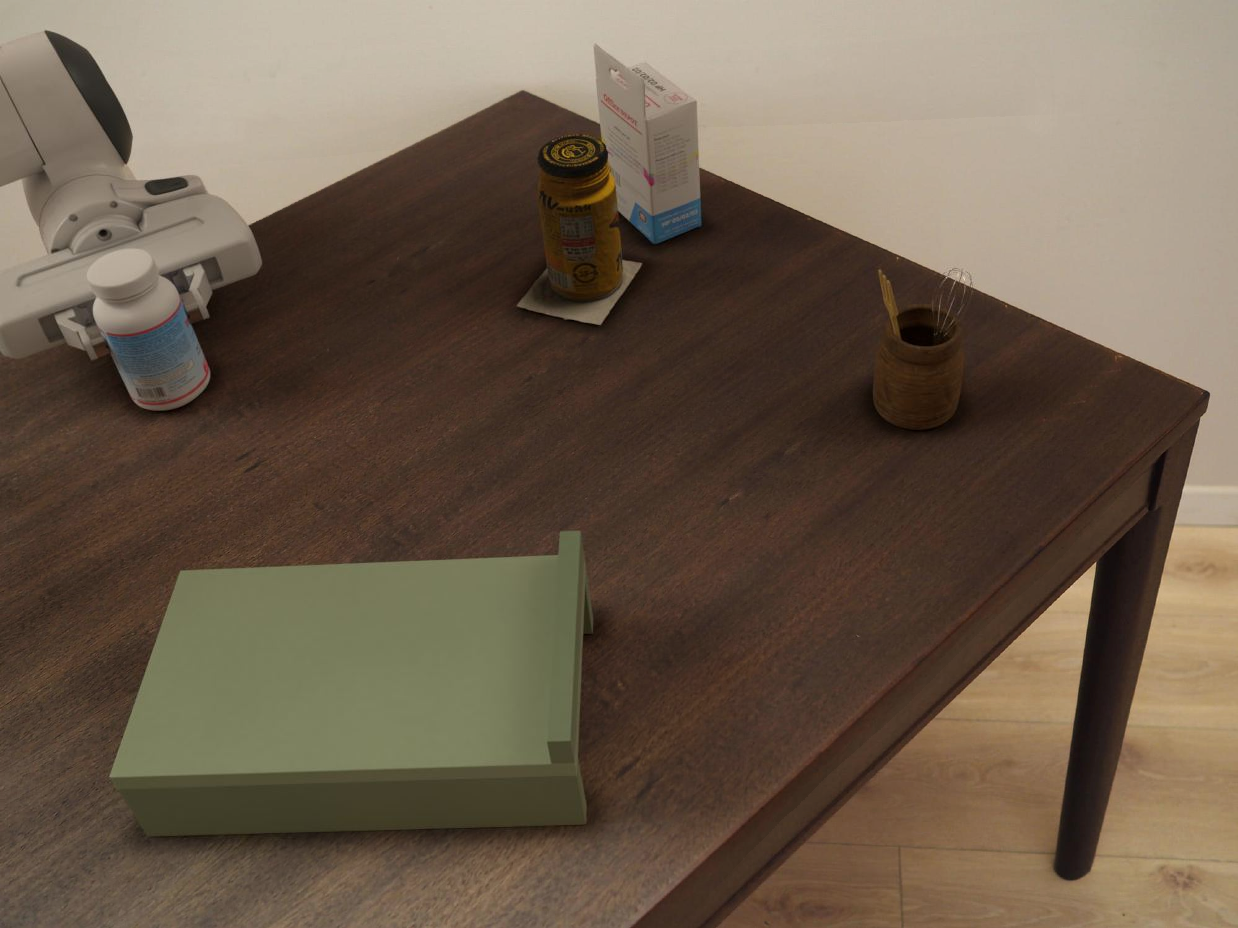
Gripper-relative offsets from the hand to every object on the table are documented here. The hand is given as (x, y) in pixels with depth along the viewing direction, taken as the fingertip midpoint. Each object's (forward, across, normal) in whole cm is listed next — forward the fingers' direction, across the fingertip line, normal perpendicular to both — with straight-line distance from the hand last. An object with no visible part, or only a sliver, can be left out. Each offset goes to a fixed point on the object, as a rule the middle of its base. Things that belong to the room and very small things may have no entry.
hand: (149, 331), depth 92 cm
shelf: (+36, +3, +6) cm, 37 cm away
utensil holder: (+32, +44, +6) cm, 55 cm away
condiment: (+6, +32, +6) cm, 33 cm away
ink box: (0, +42, +6) cm, 42 cm away
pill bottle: (-1, 0, +6) cm, 6 cm away
